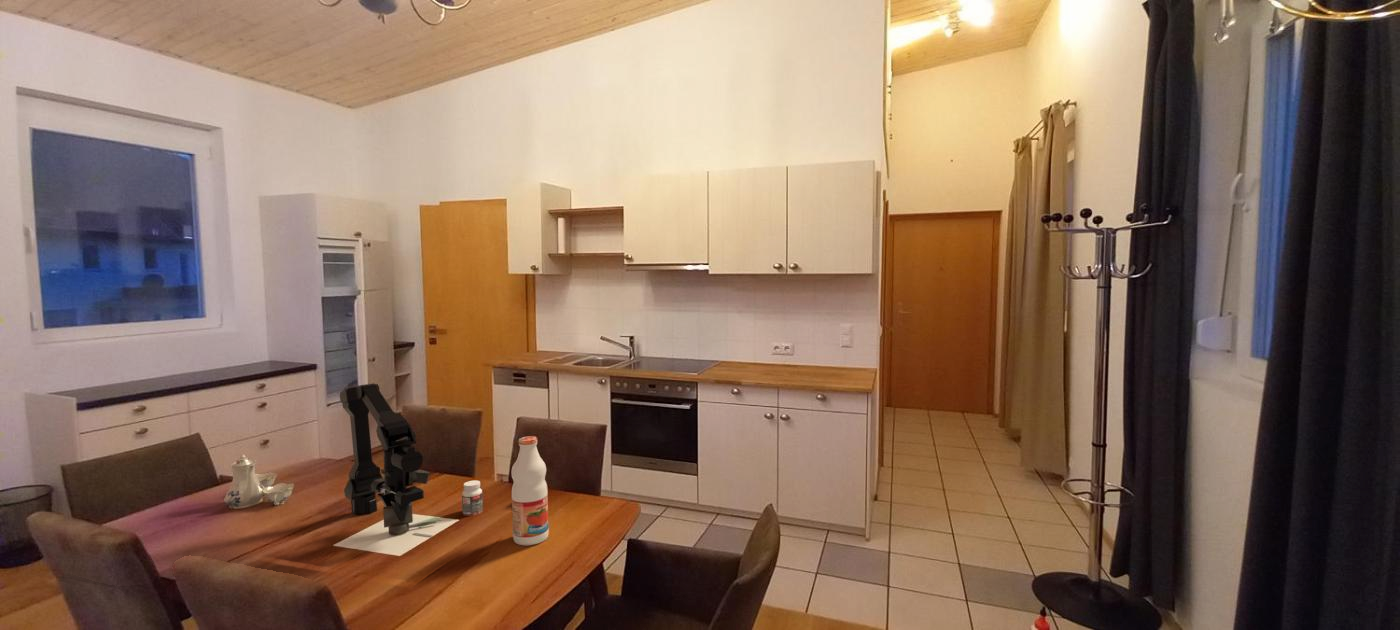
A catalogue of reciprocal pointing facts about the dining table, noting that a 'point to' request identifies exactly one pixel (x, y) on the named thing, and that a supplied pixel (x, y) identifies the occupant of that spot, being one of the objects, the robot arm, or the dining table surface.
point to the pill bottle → (472, 498)
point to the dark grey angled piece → (395, 524)
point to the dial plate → (395, 536)
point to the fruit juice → (529, 495)
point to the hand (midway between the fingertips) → (398, 519)
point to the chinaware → (254, 486)
